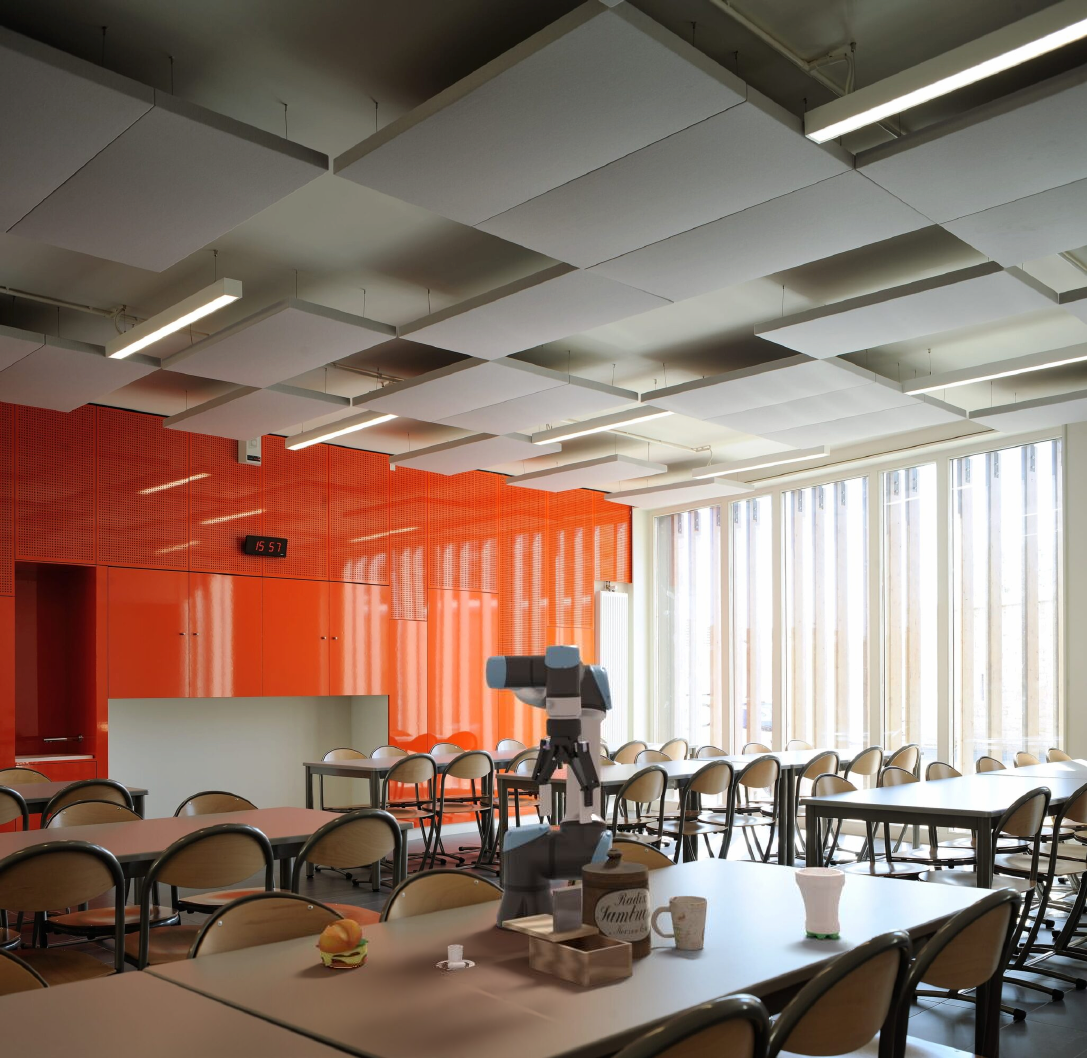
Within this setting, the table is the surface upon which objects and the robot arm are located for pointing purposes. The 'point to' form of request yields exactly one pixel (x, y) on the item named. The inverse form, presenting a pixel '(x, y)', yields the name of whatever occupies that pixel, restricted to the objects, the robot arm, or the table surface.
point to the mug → (684, 921)
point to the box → (582, 958)
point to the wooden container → (618, 901)
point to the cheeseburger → (343, 944)
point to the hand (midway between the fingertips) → (565, 819)
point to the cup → (821, 899)
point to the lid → (557, 919)
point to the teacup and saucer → (456, 958)
